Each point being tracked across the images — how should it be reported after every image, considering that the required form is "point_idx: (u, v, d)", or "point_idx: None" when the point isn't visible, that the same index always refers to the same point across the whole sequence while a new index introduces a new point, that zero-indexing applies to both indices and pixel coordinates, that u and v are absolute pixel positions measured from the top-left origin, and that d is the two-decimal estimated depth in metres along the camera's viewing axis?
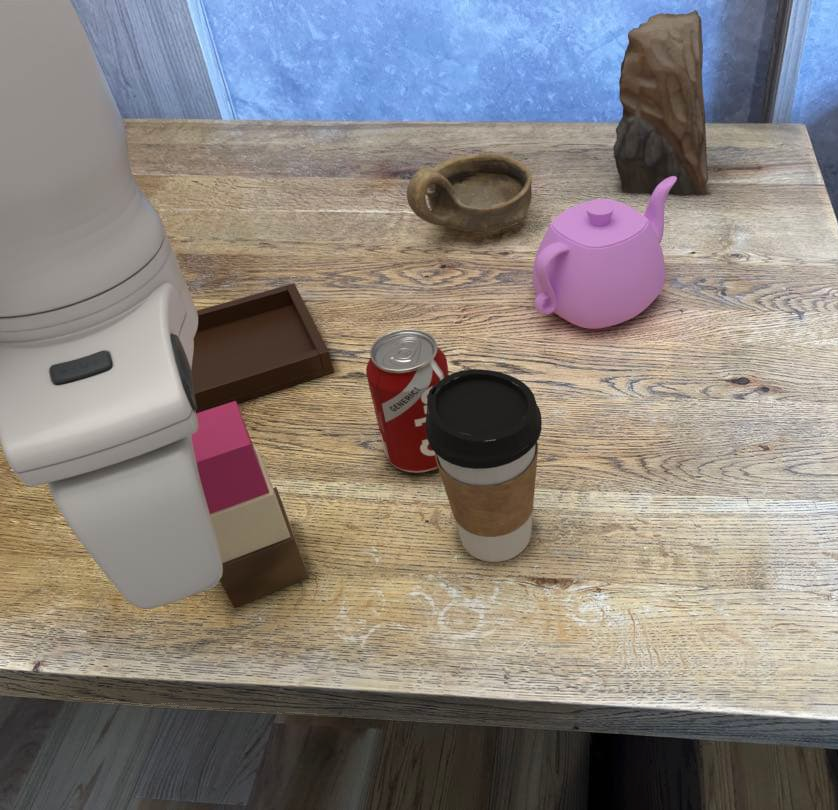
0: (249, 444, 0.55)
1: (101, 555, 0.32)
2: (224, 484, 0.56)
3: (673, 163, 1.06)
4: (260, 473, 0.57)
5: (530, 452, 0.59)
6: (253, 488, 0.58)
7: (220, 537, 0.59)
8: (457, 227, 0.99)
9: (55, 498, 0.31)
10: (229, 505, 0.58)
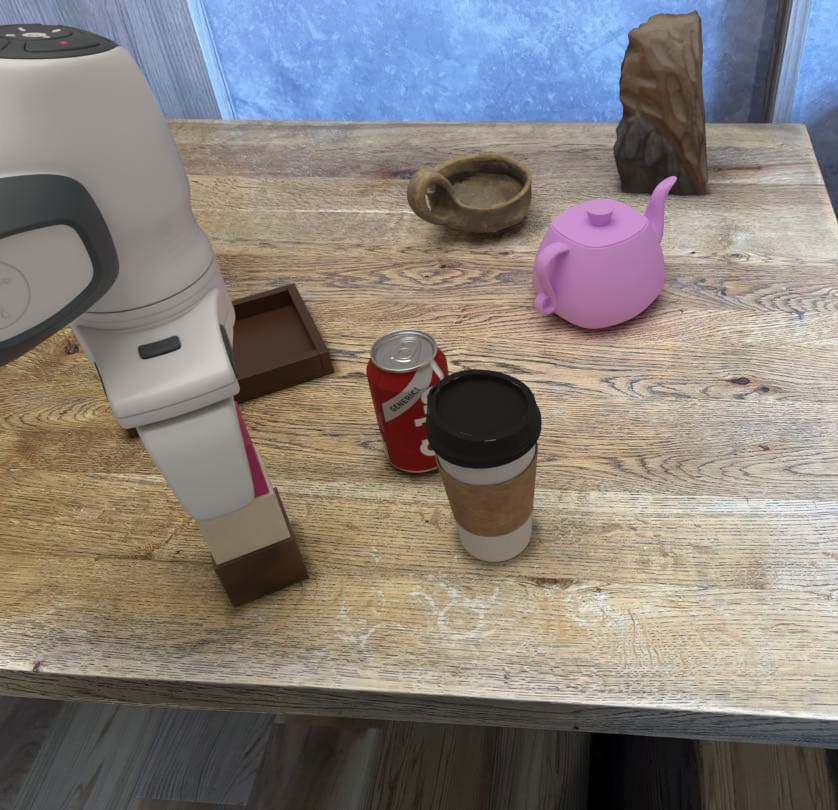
0: (249, 444, 0.55)
1: (172, 478, 0.45)
2: None
3: (673, 163, 1.06)
4: (260, 473, 0.57)
5: (530, 452, 0.59)
6: None
7: (220, 537, 0.59)
8: (457, 227, 0.99)
9: (142, 437, 0.44)
10: None
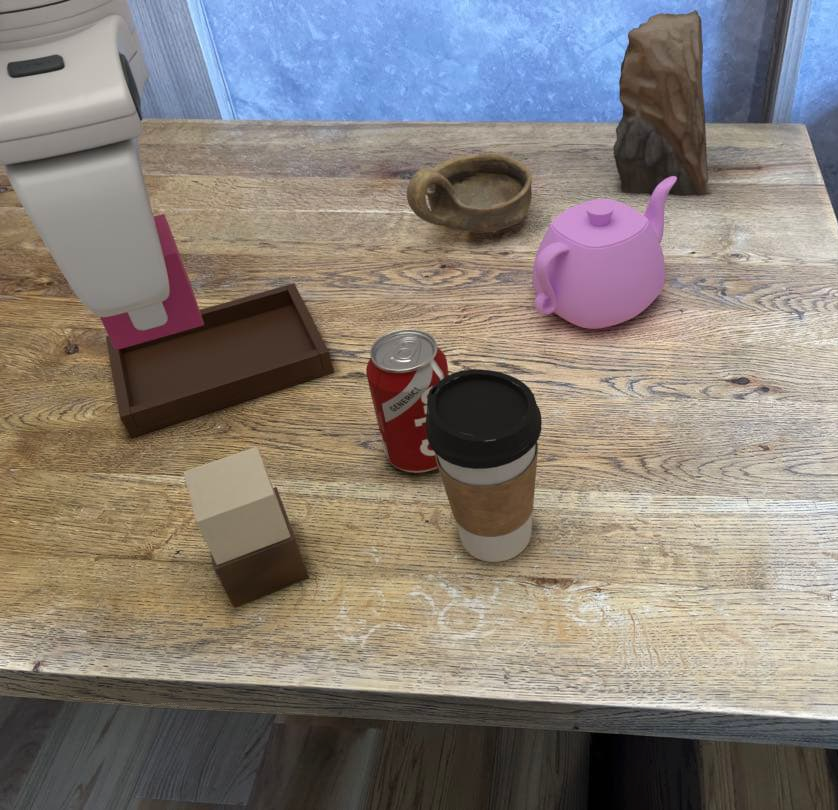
0: (175, 253, 0.45)
1: (54, 242, 0.35)
2: None
3: (673, 163, 1.06)
4: (191, 296, 0.47)
5: (530, 452, 0.59)
6: (183, 317, 0.48)
7: (220, 537, 0.59)
8: (457, 227, 0.99)
9: (11, 181, 0.34)
10: (154, 336, 0.47)
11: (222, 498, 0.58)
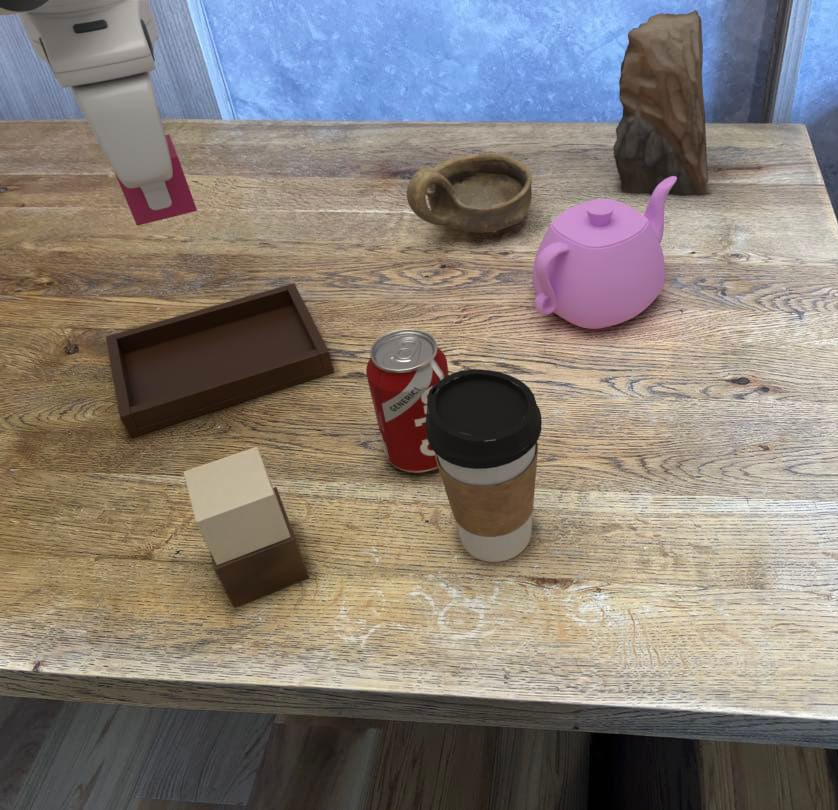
0: (176, 157, 0.67)
1: (101, 135, 0.57)
2: None
3: (673, 163, 1.06)
4: (188, 189, 0.69)
5: (530, 452, 0.59)
6: (183, 204, 0.70)
7: (220, 537, 0.59)
8: (457, 227, 0.99)
9: (76, 96, 0.56)
10: (163, 217, 0.70)
11: (222, 498, 0.58)
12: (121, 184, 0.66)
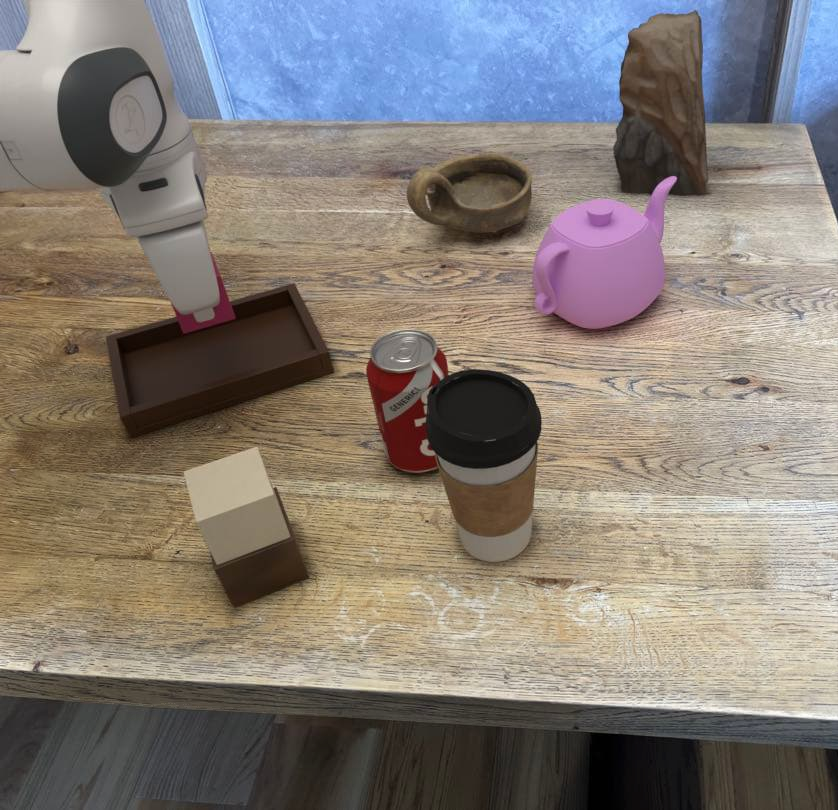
0: (219, 276, 0.77)
1: (162, 275, 0.67)
2: None
3: (673, 163, 1.06)
4: (228, 301, 0.79)
5: (530, 452, 0.59)
6: (223, 314, 0.79)
7: (220, 537, 0.59)
8: (457, 227, 0.99)
9: (141, 244, 0.66)
10: (206, 325, 0.79)
11: (222, 498, 0.58)
12: None
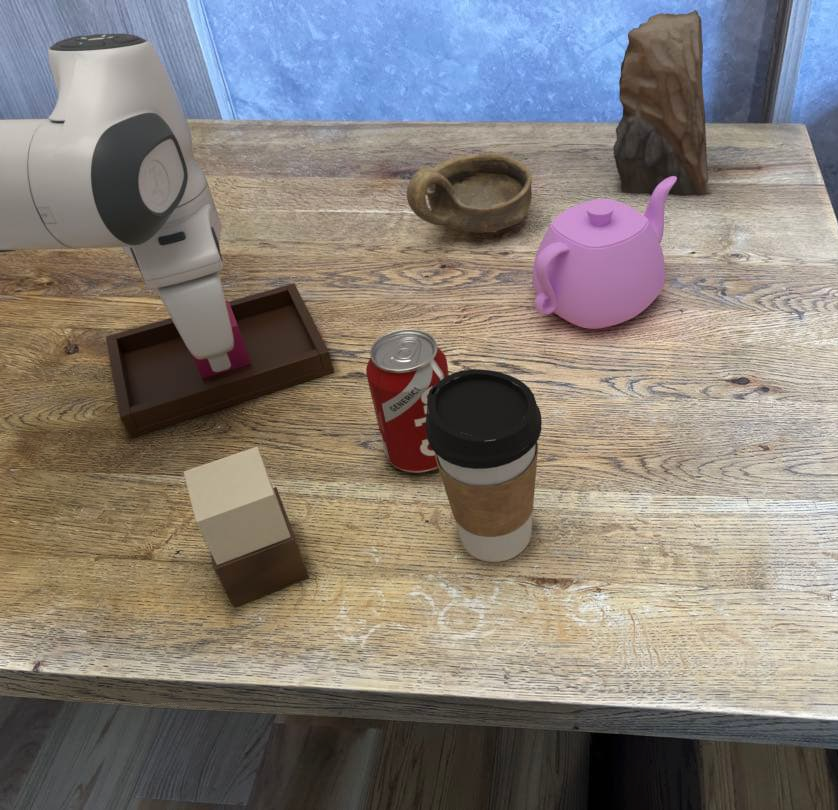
0: (236, 325, 0.81)
1: (180, 324, 0.70)
2: None
3: (673, 163, 1.06)
4: (244, 348, 0.83)
5: (530, 452, 0.59)
6: (240, 360, 0.83)
7: (220, 537, 0.59)
8: (457, 227, 0.99)
9: (160, 295, 0.69)
10: (223, 371, 0.83)
11: (222, 498, 0.58)
12: None
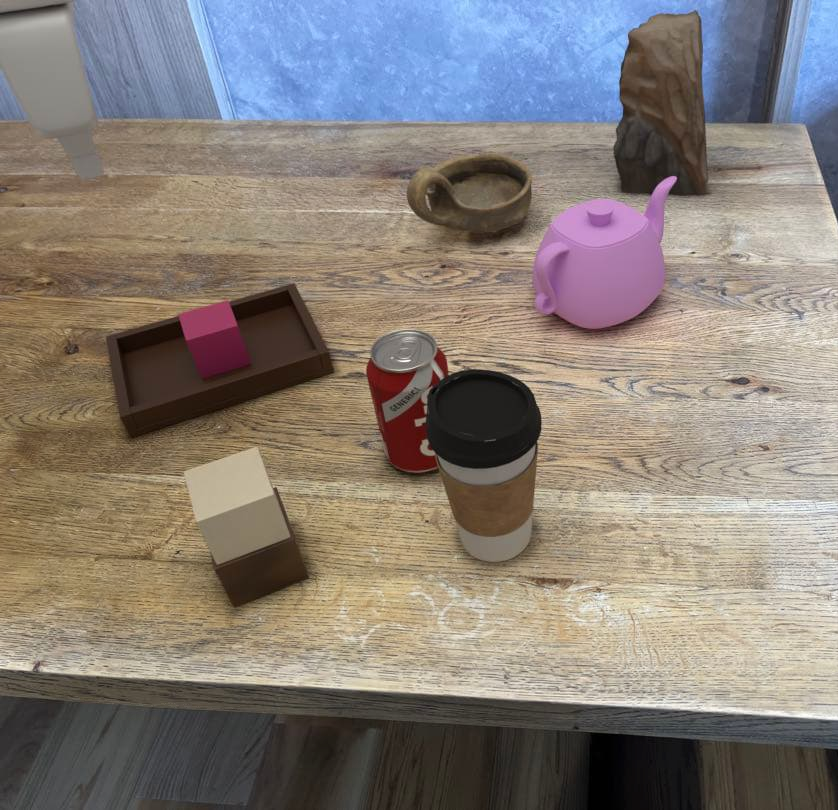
0: (236, 325, 0.81)
1: (10, 73, 0.50)
2: (219, 354, 0.82)
3: (673, 163, 1.06)
4: (244, 348, 0.83)
5: (530, 452, 0.59)
6: (240, 360, 0.83)
7: (220, 537, 0.59)
8: (457, 227, 0.99)
9: None
10: (223, 371, 0.83)
11: (222, 498, 0.58)
12: (191, 349, 0.80)
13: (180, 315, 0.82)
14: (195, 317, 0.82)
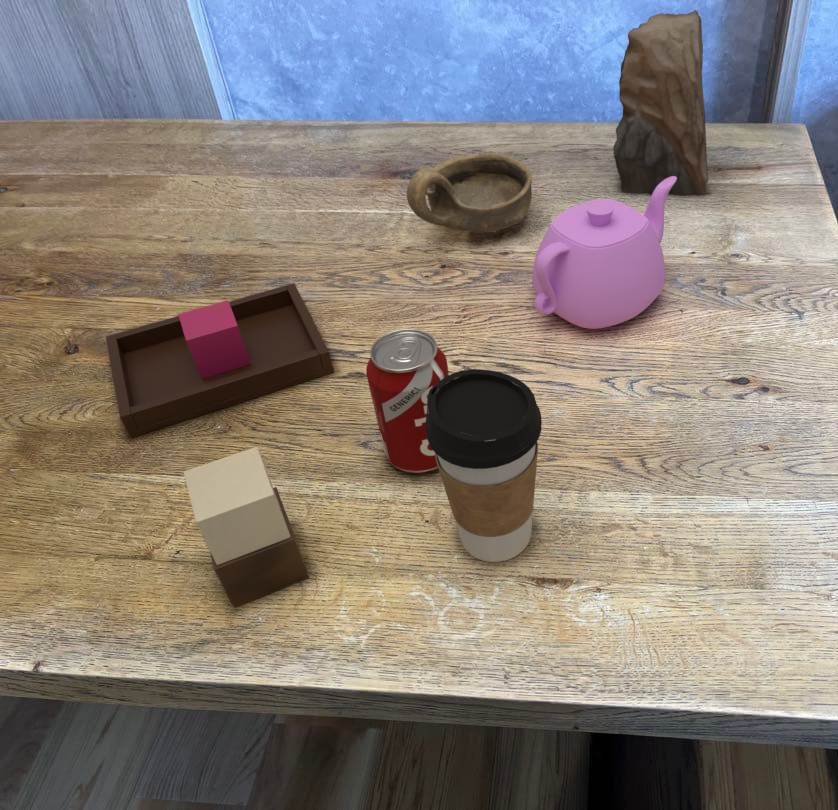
0: (236, 325, 0.81)
1: None
2: (219, 354, 0.82)
3: (673, 163, 1.06)
4: (244, 348, 0.83)
5: (530, 452, 0.59)
6: (240, 360, 0.83)
7: (220, 537, 0.59)
8: (457, 227, 0.99)
9: None
10: (223, 371, 0.83)
11: (222, 498, 0.58)
12: (191, 349, 0.80)
13: (180, 315, 0.82)
14: (195, 317, 0.82)
